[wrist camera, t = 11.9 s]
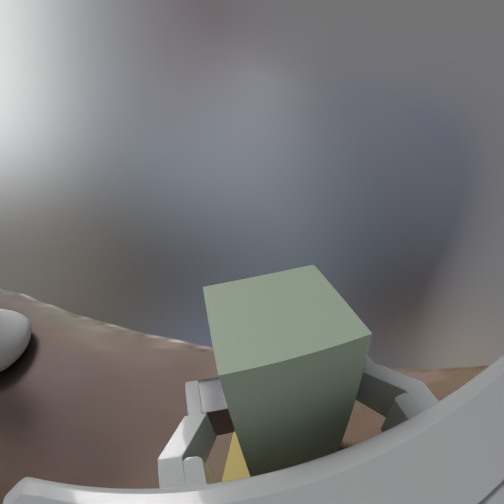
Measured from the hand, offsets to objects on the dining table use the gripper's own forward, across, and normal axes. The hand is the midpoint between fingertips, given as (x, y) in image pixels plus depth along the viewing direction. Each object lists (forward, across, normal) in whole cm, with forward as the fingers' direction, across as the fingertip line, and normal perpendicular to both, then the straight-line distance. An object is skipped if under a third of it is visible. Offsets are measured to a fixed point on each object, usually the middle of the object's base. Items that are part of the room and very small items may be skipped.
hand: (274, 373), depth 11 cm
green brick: (-1, 0, +5) cm, 5 cm away
